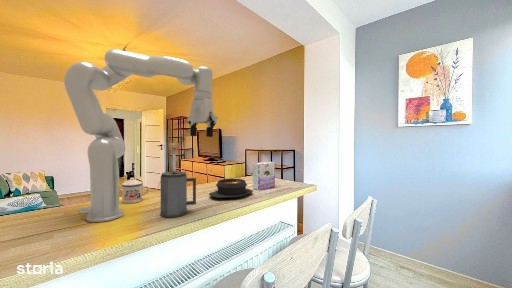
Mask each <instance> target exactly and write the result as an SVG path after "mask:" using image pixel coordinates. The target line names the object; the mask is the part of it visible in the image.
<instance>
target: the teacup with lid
mask: <svg viewBox="0 0 512 288" xmlns="http://www.w3.org/2000/svg"><path fill="white" fill-rule="evenodd" d="M143 188H147V189H146V192H145V193H143ZM121 189H122V190H121V191H122V193H121V197H122V198H121V199H122V200H121V201H122V204H137V203H139V202H142V200H143V196H146V195H148V194H149V191H150V188H149V186H148V185H143V182H142V181H139V180H137V179H135V177H130V178H129V179H128V180H127V181H125V182H122V183H121Z"/></svg>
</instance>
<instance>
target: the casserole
mask: <svg viewBox="0 0 512 288" xmlns="http://www.w3.org/2000/svg"><path fill="white" fill-rule="evenodd" d="M215 186H216V188H217V190H216V191H215V190H214V191H212V192H209V194H208V195H209V196H210V197H212V198H216V199H223V198H225V199H238V198H241V197H243V196H246V195H248V194H253V192H254V191H253V190H252V189H250V188H247V187H248V184H247V183H246V180H245V179H243V178H242V179H241V178H222V179H219V180H217V183H216V184H215Z"/></svg>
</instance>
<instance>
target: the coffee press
mask: <svg viewBox="0 0 512 288" xmlns="http://www.w3.org/2000/svg"><path fill="white" fill-rule="evenodd" d="M160 181H161V183H160V212H159V213H160V214H159V216H160V217H162V218H164V219H175V218H180V217H183V216H185V215H188V213H189V211H188V206H192V205H193V206H195V205H196V204H197V178H196V177H188V174H187V172H186V171H180V170H179V171H176V173H175V174H173V171H165V172H162V173H161V176H160ZM188 182H192V200H189V201H188V197H187V195H188V194H187V193H188V191H187V190H188V189H187V188H188V185H187V184H188Z"/></svg>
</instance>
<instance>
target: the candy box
mask: <svg viewBox="0 0 512 288" xmlns="http://www.w3.org/2000/svg"><path fill="white" fill-rule="evenodd" d="M275 166H276V163H275V162H274V161H263V162H262V161H261V162H260V161H259V162H253V164H252V173H253V174H252V189H253V190H255V191H262V189H263V190H267V189H273V187H274V188H275V187H276V180H275V178H276V177H275V176H276V175H275V174H276V172H275V171H276V167H275Z"/></svg>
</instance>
